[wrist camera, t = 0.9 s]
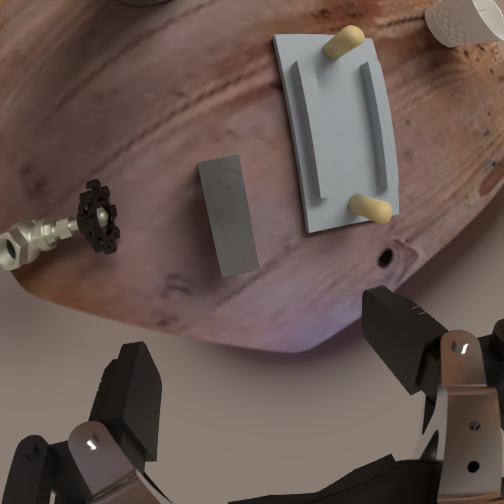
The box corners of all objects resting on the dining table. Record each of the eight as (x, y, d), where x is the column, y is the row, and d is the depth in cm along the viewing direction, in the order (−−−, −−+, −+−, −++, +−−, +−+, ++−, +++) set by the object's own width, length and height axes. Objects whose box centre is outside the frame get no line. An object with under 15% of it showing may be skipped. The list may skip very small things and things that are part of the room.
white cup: (415, 24, 23) (467, 3, 14) (424, -5, 21) (469, -26, 12) (455, 62, 25) (507, 52, 16) (461, 30, 23) (508, 18, 14)
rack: (272, 38, 22) (289, 12, 17) (367, 41, 23) (397, 24, 18) (306, 230, 29) (329, 247, 23) (394, 212, 30) (427, 224, 24)
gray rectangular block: (199, 162, 25) (197, 162, 20) (231, 155, 26) (238, 154, 20) (218, 253, 28) (222, 277, 23) (248, 247, 29) (259, 269, 23)
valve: (35, 265, 25) (125, 241, 27) (5, 290, 19) (105, 264, 20) (18, 209, 23) (109, 176, 24) (-17, 223, 17) (82, 181, 18)
